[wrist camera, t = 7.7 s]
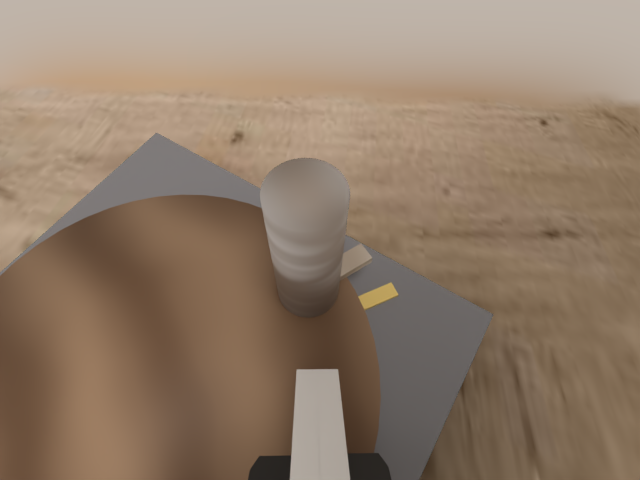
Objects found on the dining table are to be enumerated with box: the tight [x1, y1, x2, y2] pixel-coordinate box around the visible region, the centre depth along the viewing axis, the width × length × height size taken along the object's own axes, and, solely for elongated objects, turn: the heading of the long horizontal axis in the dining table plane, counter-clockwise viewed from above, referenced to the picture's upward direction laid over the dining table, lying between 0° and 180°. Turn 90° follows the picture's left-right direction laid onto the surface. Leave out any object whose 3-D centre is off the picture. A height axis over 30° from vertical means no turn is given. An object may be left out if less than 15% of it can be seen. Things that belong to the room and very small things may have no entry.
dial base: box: [0, 133, 493, 480], centre depth 21 cm, size 24×24×2 cm
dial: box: [0, 158, 381, 480], centre depth 16 cm, size 22×20×10 cm
